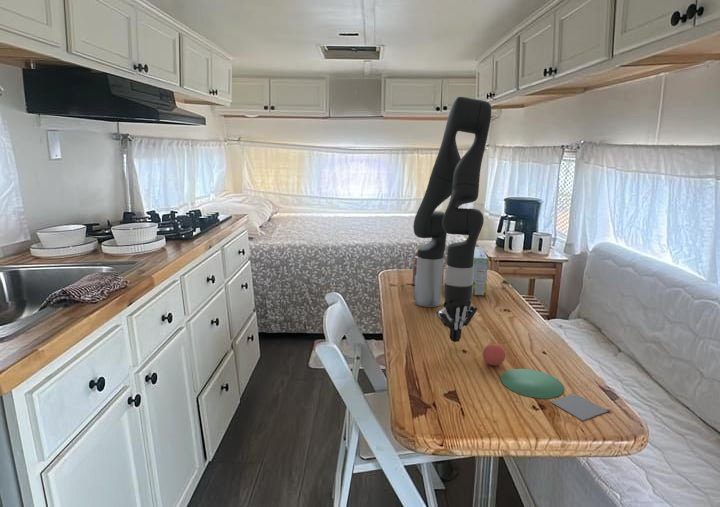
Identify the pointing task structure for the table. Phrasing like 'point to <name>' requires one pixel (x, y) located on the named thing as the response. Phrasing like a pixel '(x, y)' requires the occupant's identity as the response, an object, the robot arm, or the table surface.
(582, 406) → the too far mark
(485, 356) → the ball
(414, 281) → the canister
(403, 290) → the table surface
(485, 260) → the snack box
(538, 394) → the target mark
